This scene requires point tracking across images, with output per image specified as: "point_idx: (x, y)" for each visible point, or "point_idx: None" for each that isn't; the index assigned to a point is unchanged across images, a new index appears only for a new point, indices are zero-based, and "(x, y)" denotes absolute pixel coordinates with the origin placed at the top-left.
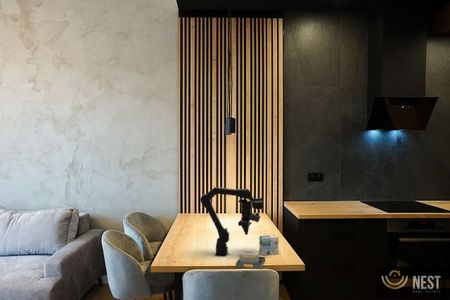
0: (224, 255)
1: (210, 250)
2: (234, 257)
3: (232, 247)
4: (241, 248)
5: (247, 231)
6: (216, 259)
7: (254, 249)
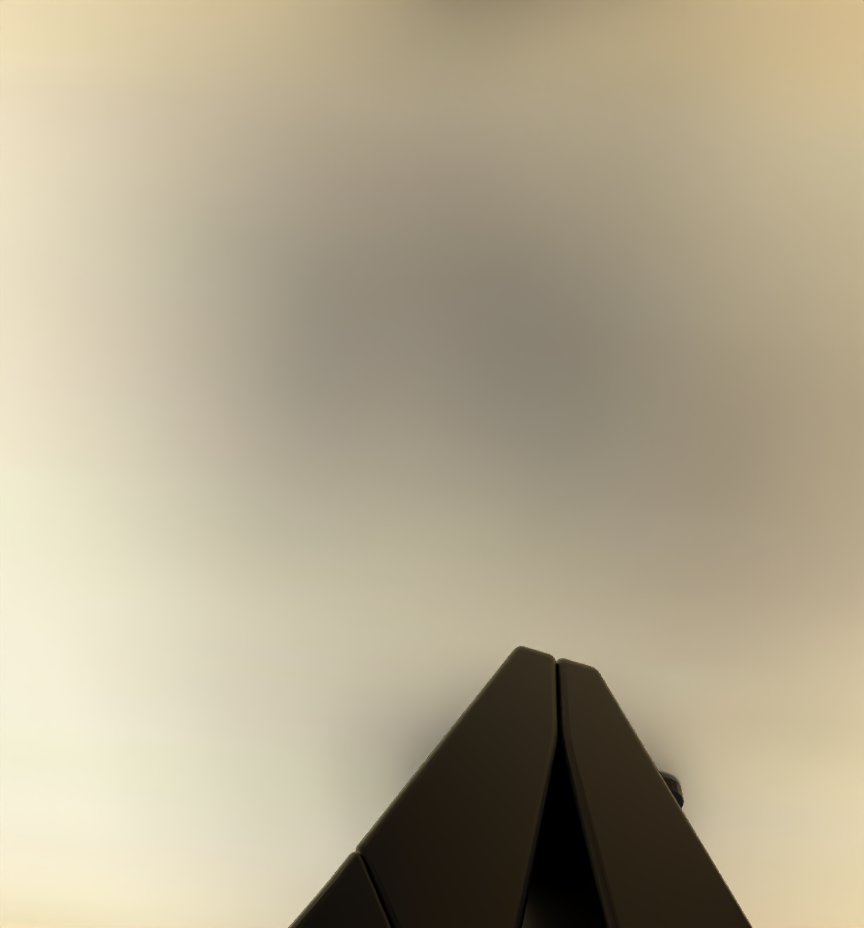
0: (682, 803)
1: None
2: (789, 632)
3: (58, 602)
4: (92, 440)
5: (697, 858)
6: (858, 916)
7: (118, 122)
